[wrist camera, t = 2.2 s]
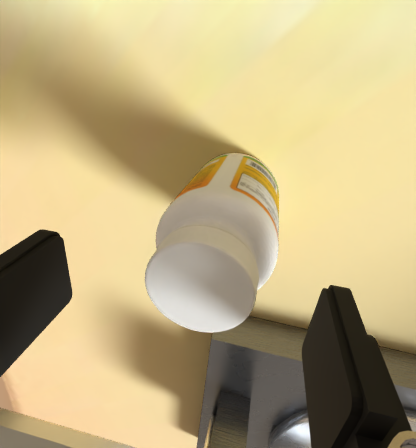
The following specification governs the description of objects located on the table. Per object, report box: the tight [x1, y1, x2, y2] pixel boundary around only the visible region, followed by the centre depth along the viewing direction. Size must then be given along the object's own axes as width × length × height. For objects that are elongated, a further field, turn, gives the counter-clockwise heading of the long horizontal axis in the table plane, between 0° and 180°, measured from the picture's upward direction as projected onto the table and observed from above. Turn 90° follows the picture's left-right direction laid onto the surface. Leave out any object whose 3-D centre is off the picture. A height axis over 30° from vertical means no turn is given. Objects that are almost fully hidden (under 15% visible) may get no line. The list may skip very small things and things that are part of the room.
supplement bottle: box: [145, 153, 279, 333], centre depth 14 cm, size 5×5×10 cm
